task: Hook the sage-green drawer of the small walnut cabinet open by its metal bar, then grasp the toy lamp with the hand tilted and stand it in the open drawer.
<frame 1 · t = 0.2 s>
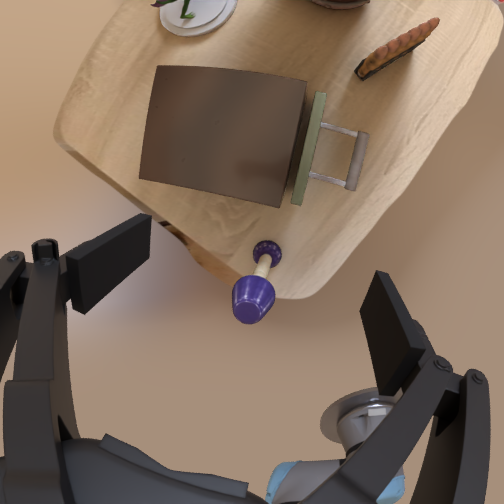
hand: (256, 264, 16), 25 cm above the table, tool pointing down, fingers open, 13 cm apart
drawer: (273, 139, 32), point 5 cm above the table, slide at 1.0 cm
monster figurine: (198, 5, 30), on the table
cabinet: (235, 132, 37), on the table
ammunition clip: (385, 59, 29), on the table
toy lamp: (268, 251, 43), on the table
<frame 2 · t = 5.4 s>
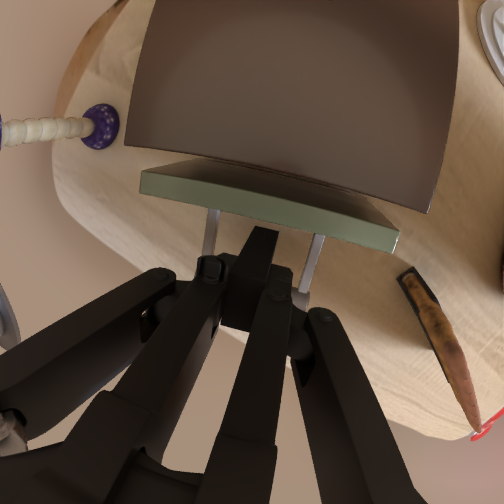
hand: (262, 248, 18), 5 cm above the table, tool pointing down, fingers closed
drawer: (289, 120, 15), point 5 cm above the table, slide at 1.2 cm, touching gripper
cabinet: (307, 52, 17), on the table
ammunition clip: (425, 312, 23), on the table
toy lamp: (105, 127, 21), on the table
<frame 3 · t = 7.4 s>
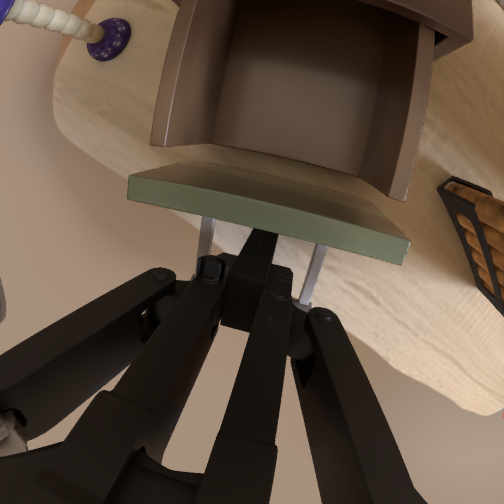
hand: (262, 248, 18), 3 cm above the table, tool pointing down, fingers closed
drawer: (290, 119, 13), point 5 cm above the table, slide at 9.3 cm, touching gripper
ammunition clip: (468, 237, 18), on the table
toy lamp: (114, 40, 17), on the table
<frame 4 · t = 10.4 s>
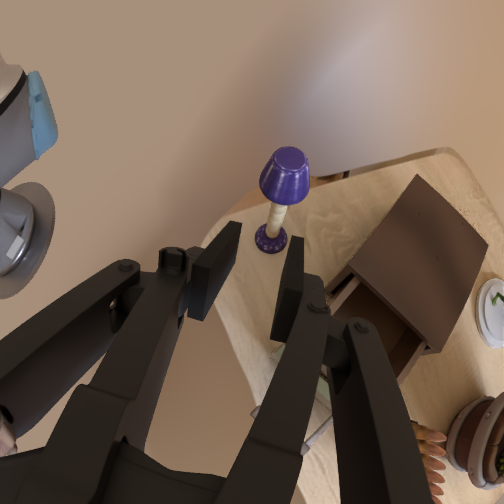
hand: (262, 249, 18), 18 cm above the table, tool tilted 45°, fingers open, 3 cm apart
drawer: (345, 359, 28), point 5 cm above the table, slide at 9.4 cm
monster figurine: (495, 313, 34), on the table
cabinet: (395, 279, 36), on the table
ammunition clip: (392, 451, 27), on the table
toy lamp: (272, 241, 38), on the table
flowerpot: (467, 432, 27), on the table
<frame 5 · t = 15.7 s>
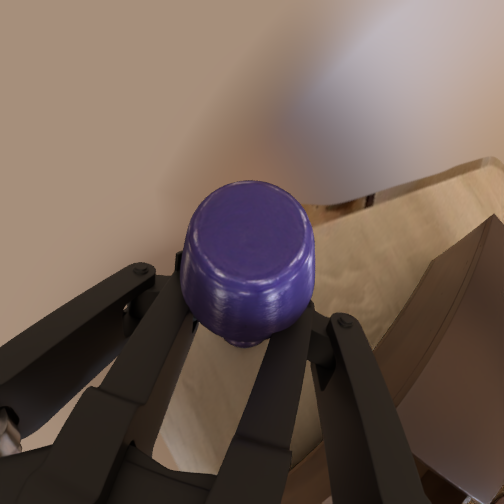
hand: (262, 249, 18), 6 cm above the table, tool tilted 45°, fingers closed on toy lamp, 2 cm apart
cabinet: (437, 372, 20), on the table
toy lamp: (247, 325, 22), on the table, touching gripper
when the fingers open (8 cm above the table, at t = 24.9 s): toy lamp stays where it is, point 2 cm above the table.
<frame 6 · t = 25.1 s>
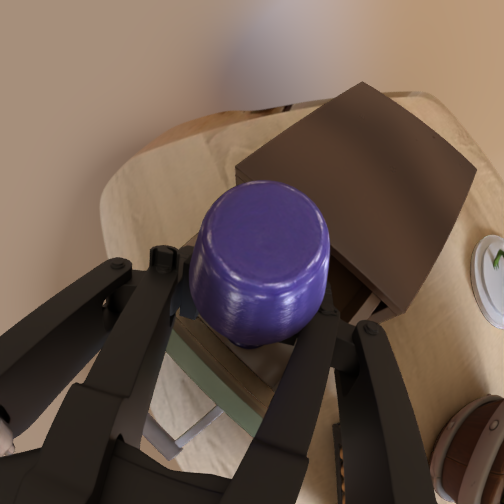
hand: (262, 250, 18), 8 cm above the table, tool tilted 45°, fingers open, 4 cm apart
drawer: (247, 320, 19), point 5 cm above the table, slide at 9.4 cm, touching gripper
monster figurine: (499, 282, 25), on the table
cabinet: (348, 223, 28), on the table
ammunition clip: (345, 471, 19), on the table
toy lamp: (252, 326, 22), point 2 cm above the table
flowerpot: (462, 446, 18), on the table
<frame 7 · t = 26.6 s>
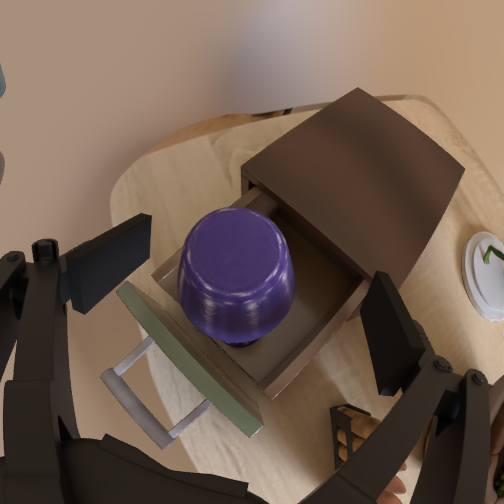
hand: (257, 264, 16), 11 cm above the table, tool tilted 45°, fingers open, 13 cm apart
drawer: (235, 321, 21), point 5 cm above the table, slide at 11.0 cm, touching toy lamp
monster figurine: (490, 276, 27), on the table
cabinet: (344, 220, 30), on the table
ammunition clip: (343, 454, 21), on the table
toy lamp: (241, 326, 24), point 2 cm above the table, touching drawer
flowerpot: (455, 434, 20), on the table
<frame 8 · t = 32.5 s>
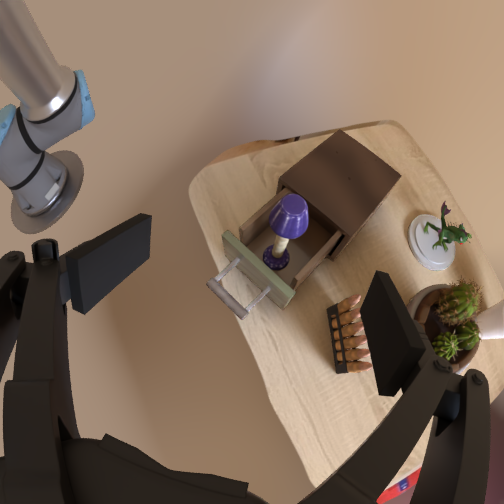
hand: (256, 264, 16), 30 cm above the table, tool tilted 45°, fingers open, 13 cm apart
drawer: (276, 252, 43), point 5 cm above the table, slide at 11.0 cm, touching toy lamp
monster figurine: (431, 243, 49), on the table
cabinet: (331, 206, 52), on the table
ammunition clip: (336, 340, 43), on the table
dixie cup: (482, 326, 43), on the table
toy lamp: (277, 259, 46), point 2 cm above the table, touching drawer
flowerpot: (411, 340, 42), on the table
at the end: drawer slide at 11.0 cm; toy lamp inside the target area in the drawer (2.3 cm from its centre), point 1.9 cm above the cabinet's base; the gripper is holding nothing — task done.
